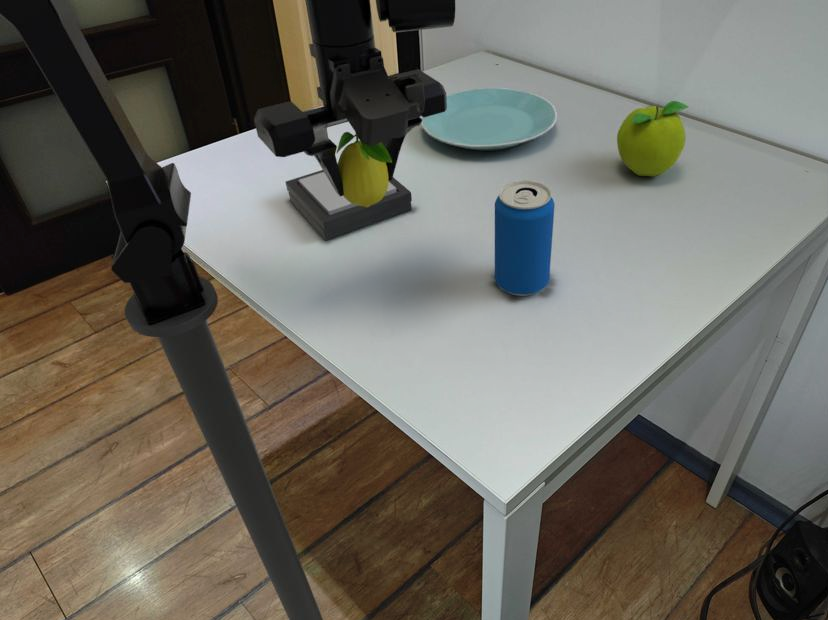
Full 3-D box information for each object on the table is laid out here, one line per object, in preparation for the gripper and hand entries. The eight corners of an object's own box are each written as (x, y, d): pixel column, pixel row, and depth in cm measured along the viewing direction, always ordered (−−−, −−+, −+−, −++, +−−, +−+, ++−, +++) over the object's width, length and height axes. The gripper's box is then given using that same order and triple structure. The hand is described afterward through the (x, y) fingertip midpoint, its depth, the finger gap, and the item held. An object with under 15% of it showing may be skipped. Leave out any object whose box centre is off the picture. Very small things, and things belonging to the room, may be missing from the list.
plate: (397, 149, 105) (395, 132, 103) (453, 95, 120) (452, 79, 118) (530, 172, 99) (531, 155, 97) (572, 112, 113) (573, 95, 112)
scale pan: (330, 221, 87) (328, 211, 86) (300, 189, 93) (298, 179, 92) (397, 198, 91) (396, 187, 90) (364, 169, 97) (362, 159, 96)
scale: (327, 242, 87) (323, 222, 85) (289, 200, 95) (284, 181, 93) (413, 211, 92) (411, 191, 90) (370, 173, 100) (367, 155, 98)
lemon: (398, 219, 72) (388, 132, 65) (344, 226, 72) (328, 138, 65) (391, 189, 77) (382, 104, 70) (340, 195, 76) (326, 110, 69)
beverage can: (554, 272, 81) (561, 183, 73) (541, 304, 76) (547, 213, 68) (503, 263, 83) (504, 175, 74) (487, 294, 78) (486, 204, 70)
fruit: (691, 179, 96) (706, 112, 89) (634, 192, 94) (645, 124, 87) (656, 152, 102) (668, 87, 96) (602, 163, 100) (610, 97, 93)
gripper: (277, 87, 53) (312, 250, 64) (474, 40, 60) (476, 193, 71) (234, 47, 60) (272, 200, 71) (415, 9, 67) (425, 153, 78)
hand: (364, 187), depth 73 cm, fingers closed on lemon, 5 cm apart
